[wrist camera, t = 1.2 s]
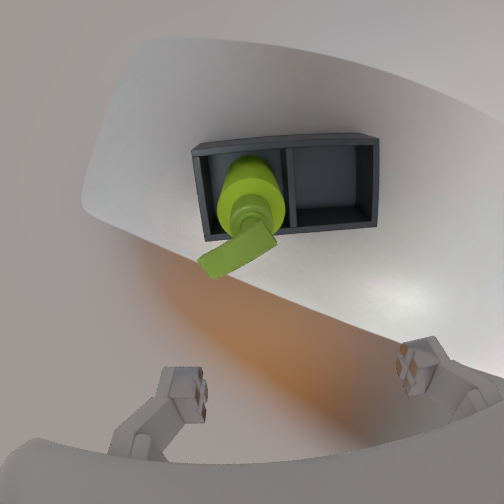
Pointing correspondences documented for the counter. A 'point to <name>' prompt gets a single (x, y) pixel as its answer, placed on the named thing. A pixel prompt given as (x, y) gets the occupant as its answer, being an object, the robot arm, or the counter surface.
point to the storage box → (299, 179)
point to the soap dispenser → (246, 216)
